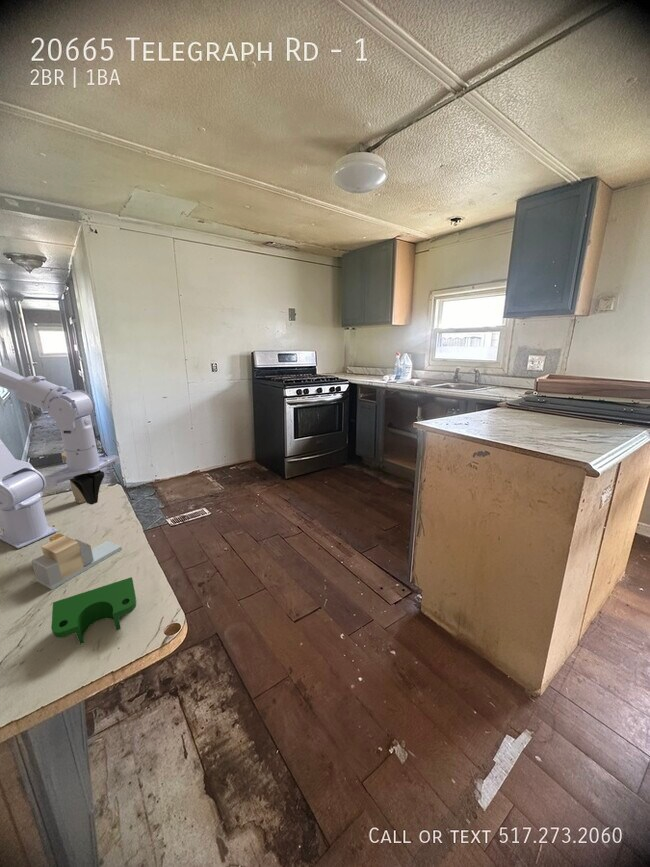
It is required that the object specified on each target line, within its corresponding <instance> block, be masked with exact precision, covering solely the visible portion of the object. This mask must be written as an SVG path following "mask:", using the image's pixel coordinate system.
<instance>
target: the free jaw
mask: <svg viewBox="0 0 650 867" xmlns="http://www.w3.org/2000/svg"><path fill="white" fill-rule="evenodd" d="M62 536H65V537H68V538H70V539H72V540H74V541H76V542H78V544H79V548H80V552H81V557H82V561H83V565H84V566H85V565H87V564H89V563H91V562H92V561H94V559H93V555H92V550H91V549H92V547H91V545H90V544H88V543H85V542H84V541H81V540H79V539H77V538H76V539H73V538H71V537H69V536H66V535H64V534H62V533H60V532H59V533H57V534H55V535H53V536H50V537H49V538H48V539H49V542H52V541H54V540H56V539H58V538H60V537H62Z"/></svg>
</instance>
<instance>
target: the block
mask: <svg viewBox="0 0 650 867" xmlns="http://www.w3.org/2000/svg"><path fill="white" fill-rule="evenodd" d="M65 536H66V535H64V536H62V537H60V538H58V539H56V540H54V541H52V542H50V541H49V542H48V543H46V544H44V545H41V549H42V550H41V551H42V554H43V555H45V556H47V557H49V558H50V559H52V560H54V561H56V562H58V564H59V568H60V572H61V576H62V580H63V579H65V578H66V577H68V576H70V575H72V574H73V573H75V572H77V571H79V570H80V569H82V568H84V565H83V561H82V557H81V552H80V548H79V544H78V542H76V541H74V540H75V539H73V538H71V537H69V536H66V537H65ZM68 537H69V538H68ZM70 538H71V539H70ZM72 539H73V540H72Z"/></svg>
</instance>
